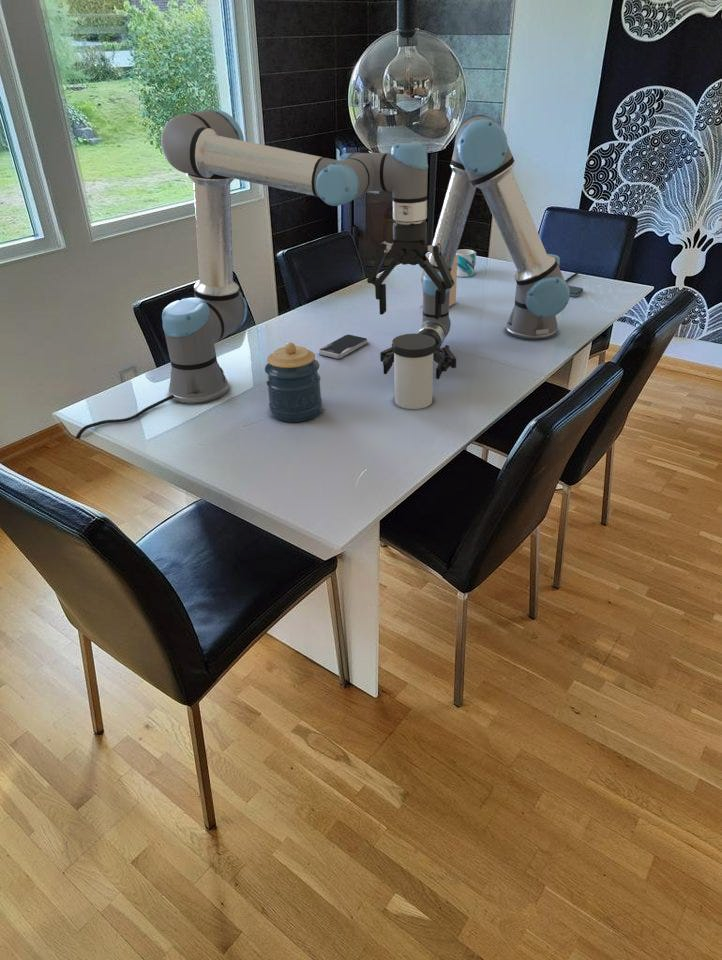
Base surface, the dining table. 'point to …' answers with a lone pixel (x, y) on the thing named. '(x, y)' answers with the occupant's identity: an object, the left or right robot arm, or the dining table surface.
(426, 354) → the lid
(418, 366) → the jar
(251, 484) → the dining table surface
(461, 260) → the mug
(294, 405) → the canister
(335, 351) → the smartphone
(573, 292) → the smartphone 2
